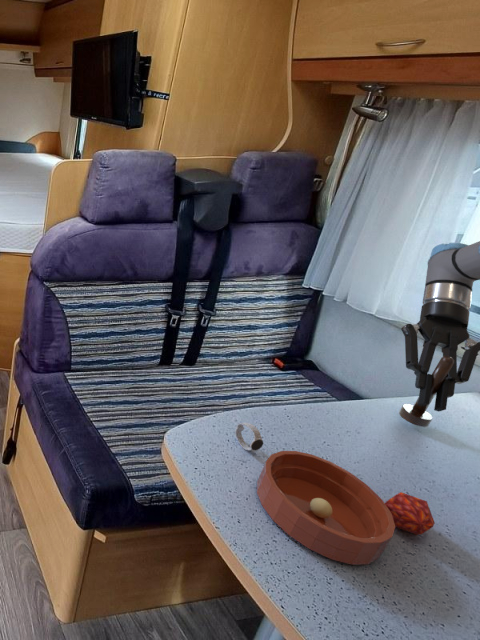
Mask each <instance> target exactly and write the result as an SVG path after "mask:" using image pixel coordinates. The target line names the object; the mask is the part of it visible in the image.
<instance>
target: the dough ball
mask: <svg viewBox="0 0 480 640" xmlns="http://www.w3.org/2000/svg"><path fill="white" fill-rule="evenodd" d="M310 508H311V510H312V512H313V513H314V514H315V515H316V516H318V517H320V518H328V517H330V516H331V515H332V507H331V505H330V504H329V503H328V502H327V501H326V500H324V499H322V498H315V499H313V500H312V501H311V502H310Z"/></svg>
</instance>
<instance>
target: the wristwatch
mask: <svg viewBox="0 0 480 640" xmlns="http://www.w3.org/2000/svg"><path fill="white" fill-rule="evenodd" d="M244 426H246V427H248V429H249V430H251V432H252V433H253V436H254V437H253V439H252V441H251V442H250V445H248V444H247V443H246V441H245V440H244V437H243V435H242V432H243V431H244V430H245V427H244ZM234 435H235V438H236V441H237V442H238V444H239V445H240V447H241V448H242V449H243V450H245V451H258V450H260V449H261V448H262V447H263V445H264V440H263V437H262V436H261V432H260V431H259V429H258V428H257V427H256V426H255V425H254V424H252V423H249V422H239V423H238V424H237V425H236V426H235V431H234Z"/></svg>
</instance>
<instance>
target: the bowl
mask: <svg viewBox="0 0 480 640" xmlns="http://www.w3.org/2000/svg"><path fill="white" fill-rule="evenodd" d="M256 494H257V497H258V500H259V502H260V504H261V506H262V507H263V509H264V510H265V512H266V513H267V514H268V516H269V517H270V518H271V520H272V521H273V522H274V523H275V524H276V525H277V526H278V527H280V529H282V530H283V532H285V533H286V534H287V535H288V536H289V537H291V538H292V539H293V540H295V541H297V542H298V543H299V544H301V545H302V546H304V547H306V548H307V549H308V550H310V551H313V552H315V553H317V554H319V555H321V556H324V557H325V558H328V559H329V560H333V561H336V562H340V563H345V564H348V565H353V566H354V565H369V564H371V563H373V562H375V561H376V560H378V559H380V557H381V556H382V554H383V553H384V551H385V549H386V548H387V546H388V544H389V543H390V541H391V539H392V538H393V536H394V532H395V530H396V527H395V523H394V520H393V517H392V514H391V512H390V510H389V509H388V507H387V506H386V505H385V502H384V500H383V499H382V497H381V496H380V495H378V494H377V493H376V492H375V491H374V490H373V489H372V488H371V487H370V486H369V485H368V484H367V483H366V482H364V481H363V480H361V479H360V478H359V477H357V476H356V475H355V474H353V473H352V472H351V471H348V470H347V469H345V468H343V467H341V466H339V465H337V464H336V463H334V462H333V461H330V460H327V459H325V458H322V457H320V456H317V455H314V454H312V453H307V452H302V451H298V450H280V451H278V452H275V453H271V455H269V457H268V458H267V460H265V463H264V465H263V467H262V469H261V472H260V474H259V475H258V479H257V480H256ZM315 498H322V499H324V500H326V501H327V502H328V503H329V504H330V505H331V507H332V515H331V516H330V517H328V518H320V517H318V516H316V515H315V514H314V513H313V512H312V510H311V508H310V502H311V501H312V500H313V499H315Z"/></svg>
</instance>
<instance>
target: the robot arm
mask: <svg viewBox="0 0 480 640" xmlns="http://www.w3.org/2000/svg"><path fill="white" fill-rule="evenodd" d="M426 269H427V270H426V276H425V284H424V291H423V297H422V305H421V308H420V309H421V310H420V315H419V320H418V322H417V323H416V324H412V323H407V324H405V325H404V326H402V327H401V328H400V329H401V331H402V334H403V336H404V348H405V350H404V351H405V368H406V369H408V370H411V371H413V373H414V375H415V376H416V377H415V383H414V385H415V386H414V387H415V388H416V389H418V390H419V395H418V397H419V400H418V405H420V406H425V405H428V404H429V401H430V393H431V386H432V379H433V375H432V373H431V374H430V373H429V372H430V368H431V366H432V361H433V359H434V355H435V351H436V348H437V346H438V347H439V348H441V353H442V357H444V356H449V357H451V358H453V359H454V364H453V366H452V367H451V369H450V371H449V372H448V374H447V376H446V377H445V379H444V381H443V382H442V384H441V386H440V388H439V389H438V391H437V393H436V394H435V400H434V407H433V410H434V411H436V412H439V413H440V412H443V411H446V410H447V405H448V398H452V397H454V395H455V388H456V385H457V384H458V385H462V384H464V383H467V382H469V381H470V379H471V374H472V371H473V368H474V366H475V363H476V361H477V357H478V354H479V353H480V341H478V342H477V341H475V340H474V339H473V338H471V337H470V333H469V332H468V331H469V330H468V327H469V320H470V314H471V313H470V310H471V305H472V296H473V295H472V293H473V286H474V282H476V281H480V240H478V241H476V242H474V243H471V244H466V243H462V242H449V243H440V244H437V245H436V246H434V247H433V248H432V249H431V250H430V255H429V258H428V261H427V268H426ZM418 333H419V334H420V335H421V337H422V338H423V339H424V340H423V344H422V350H421V353H420V356H419V346H418V345H419V344H418ZM462 343H464V350H465V351H464V352H463V354H462V357H461V359H460V363H459V366H458V364H457V363H458V361H457V360H458V359H457V356H458V354H457V352H458V350H459V347H458V346H459V345H461V344H462ZM429 405H430V404H429Z"/></svg>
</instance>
